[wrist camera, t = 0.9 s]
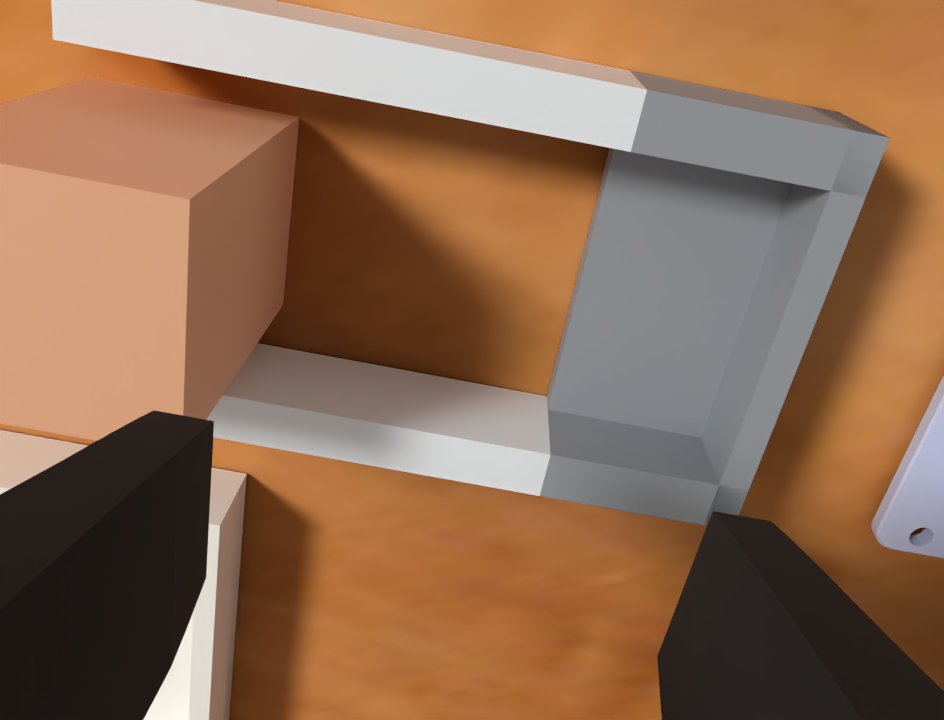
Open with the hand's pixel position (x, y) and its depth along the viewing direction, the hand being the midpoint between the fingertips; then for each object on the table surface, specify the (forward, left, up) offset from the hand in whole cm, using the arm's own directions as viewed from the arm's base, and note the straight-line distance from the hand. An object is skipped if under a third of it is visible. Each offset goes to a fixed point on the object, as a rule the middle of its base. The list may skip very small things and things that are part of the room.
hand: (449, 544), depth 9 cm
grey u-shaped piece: (-4, 0, -9) cm, 10 cm away
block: (+6, 0, -10) cm, 11 cm away
